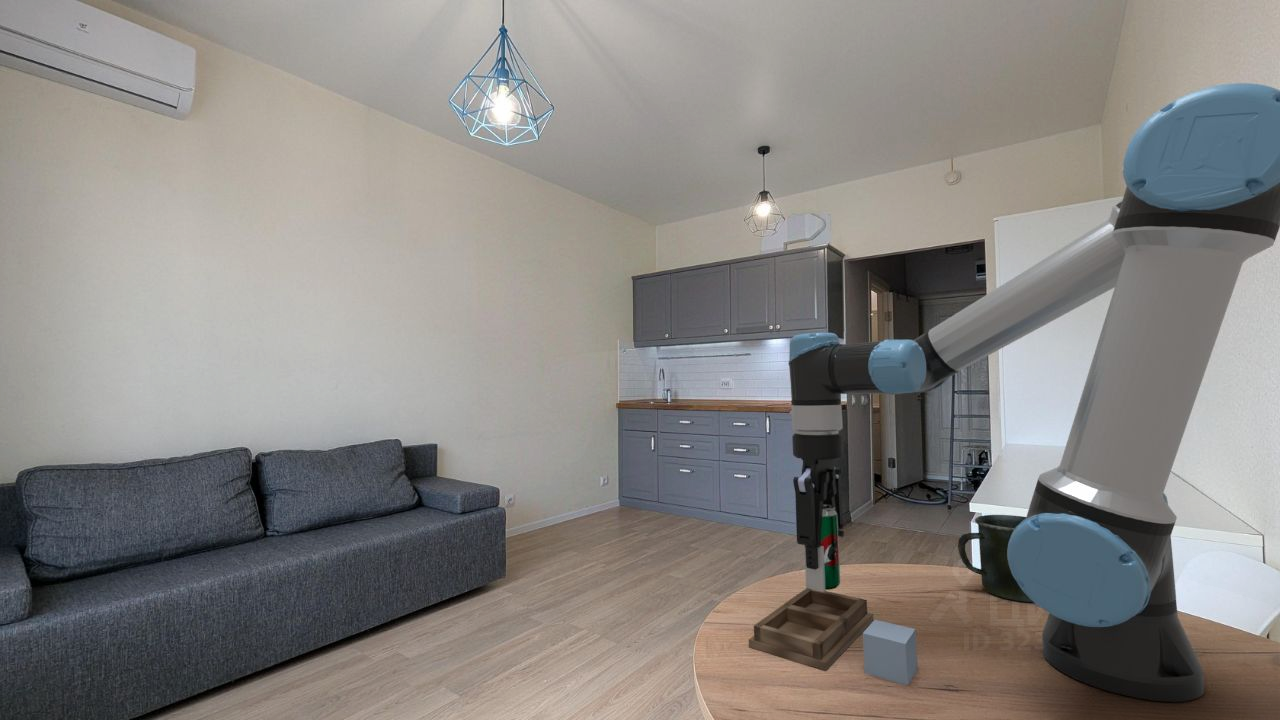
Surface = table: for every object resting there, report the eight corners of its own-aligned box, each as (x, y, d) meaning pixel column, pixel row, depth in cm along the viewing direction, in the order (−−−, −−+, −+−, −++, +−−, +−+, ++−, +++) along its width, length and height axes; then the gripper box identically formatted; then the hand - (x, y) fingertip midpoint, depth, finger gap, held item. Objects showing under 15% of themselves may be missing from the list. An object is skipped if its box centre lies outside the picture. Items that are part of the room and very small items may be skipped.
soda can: (843, 582, 85) (840, 504, 86) (836, 593, 81) (832, 511, 81) (810, 577, 88) (807, 501, 88) (802, 587, 84) (798, 507, 84)
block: (917, 669, 70) (915, 629, 70) (907, 686, 66) (905, 643, 66) (876, 658, 73) (874, 619, 73) (864, 673, 69) (862, 633, 69)
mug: (1073, 605, 88) (1068, 529, 88) (976, 603, 90) (971, 529, 90) (1034, 582, 98) (1030, 514, 99) (948, 580, 100) (944, 514, 101)
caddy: (873, 620, 84) (872, 600, 84) (825, 670, 70) (824, 646, 70) (804, 604, 91) (804, 585, 91) (748, 646, 77) (748, 624, 77)
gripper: (816, 427, 95) (822, 563, 94) (768, 436, 81) (773, 596, 80) (860, 428, 90) (867, 572, 89) (817, 438, 76) (824, 608, 75)
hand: (823, 583), depth 84 cm, fingers closed on soda can, 5 cm apart
